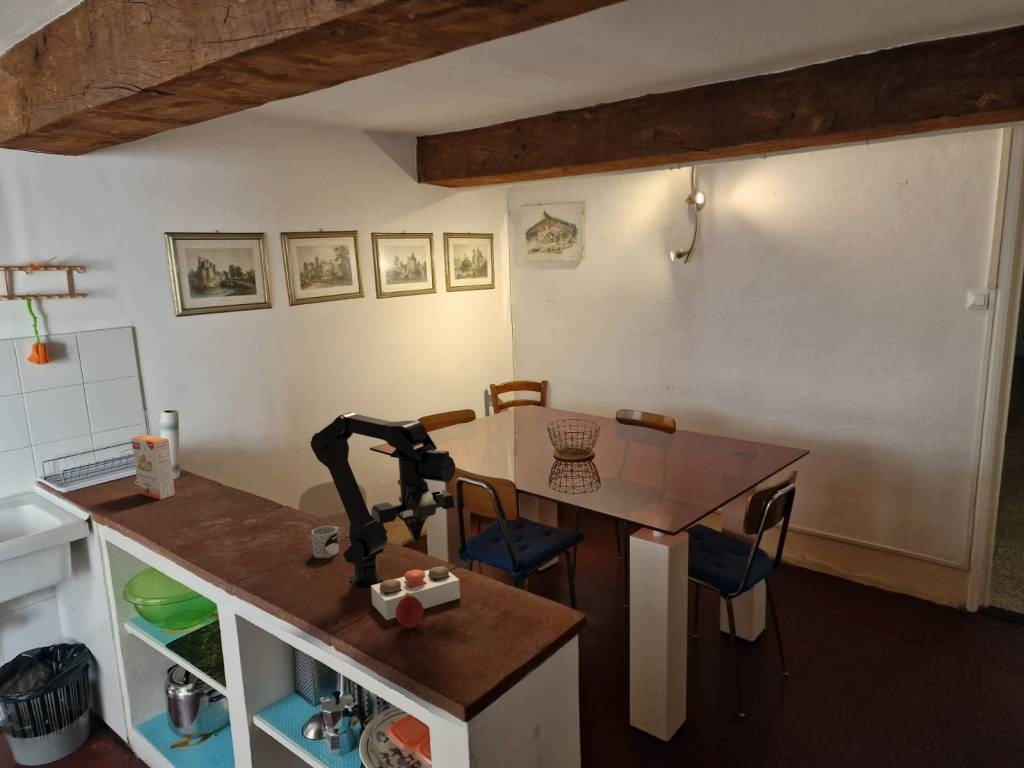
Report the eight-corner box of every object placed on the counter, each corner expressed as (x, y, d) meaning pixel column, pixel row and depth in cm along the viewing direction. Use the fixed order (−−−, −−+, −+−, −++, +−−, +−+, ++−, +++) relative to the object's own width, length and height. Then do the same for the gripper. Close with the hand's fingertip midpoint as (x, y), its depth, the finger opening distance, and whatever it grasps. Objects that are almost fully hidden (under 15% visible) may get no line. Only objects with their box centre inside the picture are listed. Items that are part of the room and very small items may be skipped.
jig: (372, 604, 160) (371, 585, 159) (443, 583, 169) (442, 566, 168) (386, 620, 152) (385, 600, 151) (460, 597, 161) (459, 579, 160)
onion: (425, 620, 151) (423, 586, 150) (422, 634, 146) (420, 598, 144) (398, 621, 151) (396, 587, 150) (395, 635, 145) (392, 600, 144)
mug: (329, 560, 185) (327, 536, 184) (308, 557, 187) (306, 534, 186) (350, 545, 195) (348, 523, 194) (329, 543, 197) (327, 520, 196)
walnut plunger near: (378, 605, 158) (376, 583, 157) (397, 600, 160) (396, 577, 159) (385, 613, 154) (384, 590, 153) (405, 608, 156) (403, 585, 156)
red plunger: (403, 595, 161) (401, 572, 160) (421, 590, 163) (419, 568, 162) (410, 603, 157) (409, 580, 156) (429, 597, 159) (428, 575, 158)
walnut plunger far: (426, 591, 164) (425, 569, 163) (444, 586, 166) (443, 565, 166) (435, 599, 160) (433, 576, 159) (453, 593, 163) (452, 571, 162)
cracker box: (137, 494, 248) (130, 437, 244) (154, 489, 253) (147, 433, 249) (159, 500, 240) (152, 441, 237) (176, 495, 245) (169, 437, 242)
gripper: (386, 493, 148) (391, 563, 150) (464, 477, 157) (467, 543, 160) (368, 481, 157) (373, 546, 160) (443, 466, 167) (446, 528, 169)
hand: (416, 541), depth 162 cm, fingers closed
